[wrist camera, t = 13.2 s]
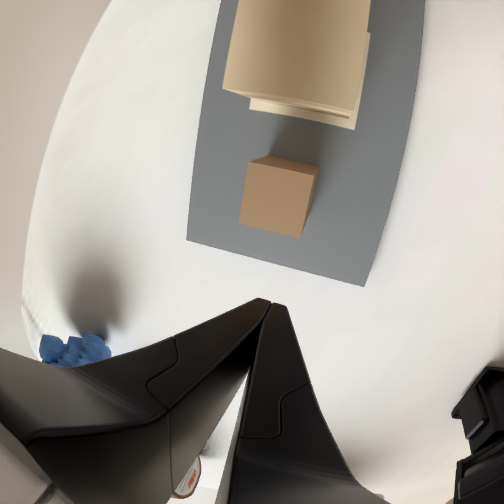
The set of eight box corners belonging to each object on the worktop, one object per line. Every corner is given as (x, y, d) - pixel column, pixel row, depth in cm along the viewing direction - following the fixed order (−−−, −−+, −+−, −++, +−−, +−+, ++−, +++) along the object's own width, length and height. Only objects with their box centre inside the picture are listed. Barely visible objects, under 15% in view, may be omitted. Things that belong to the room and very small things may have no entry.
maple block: (362, 38, 13) (371, -5, 8) (348, 119, 15) (353, 111, 10) (274, 23, 14) (243, -20, 9) (259, 101, 16) (222, 88, 11)
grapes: (114, 297, 27) (24, 374, 16) (147, 355, 28) (76, 441, 18) (55, 310, 31) (-15, 365, 20) (82, 357, 33) (22, 417, 22)
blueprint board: (421, -50, 10) (436, -88, 5) (363, 278, 20) (367, 322, 15) (247, -74, 12) (222, -112, 7) (193, 234, 22) (155, 263, 17)
